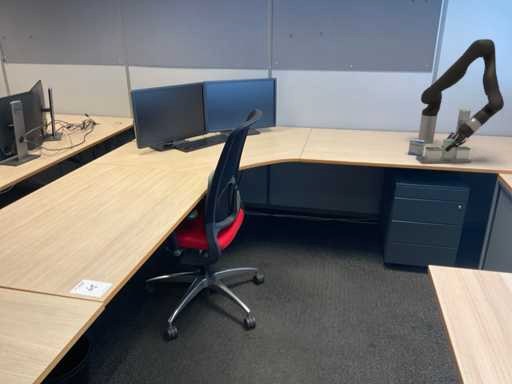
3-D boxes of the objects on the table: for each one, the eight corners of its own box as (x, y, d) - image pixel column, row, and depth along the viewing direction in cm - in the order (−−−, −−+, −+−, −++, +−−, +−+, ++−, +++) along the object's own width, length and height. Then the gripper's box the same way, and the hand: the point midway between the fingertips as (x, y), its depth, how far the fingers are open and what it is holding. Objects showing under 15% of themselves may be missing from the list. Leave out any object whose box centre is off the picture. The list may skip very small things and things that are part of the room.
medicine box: (407, 154, 250) (409, 140, 246) (409, 152, 253) (411, 138, 250) (422, 156, 246) (424, 141, 243) (423, 154, 250) (425, 139, 247)
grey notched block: (416, 158, 242) (417, 146, 239) (462, 158, 243) (465, 145, 240) (422, 163, 234) (424, 150, 231) (470, 163, 234) (473, 149, 232)
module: (441, 155, 239) (443, 139, 235) (449, 155, 239) (451, 139, 236) (444, 157, 235) (446, 141, 232) (452, 157, 235) (455, 141, 232)
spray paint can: (464, 139, 279) (469, 108, 272) (466, 142, 273) (471, 110, 266) (453, 138, 281) (458, 108, 273) (455, 141, 275) (460, 110, 267)
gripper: (459, 119, 237) (434, 141, 241) (472, 125, 224) (446, 148, 228) (467, 129, 239) (442, 150, 243) (480, 135, 226) (454, 157, 230)
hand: (444, 149), depth 236 cm, fingers closed on module, 4 cm apart
